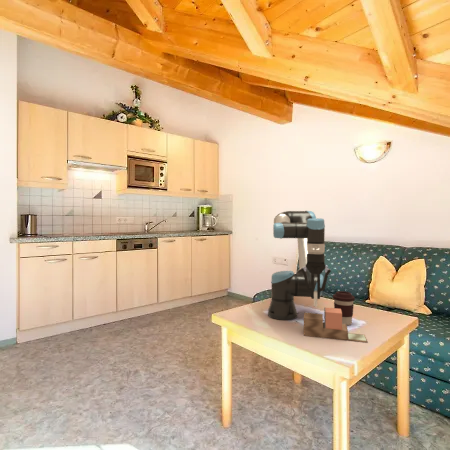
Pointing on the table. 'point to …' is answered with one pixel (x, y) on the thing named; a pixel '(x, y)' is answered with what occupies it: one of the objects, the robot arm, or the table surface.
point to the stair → (317, 329)
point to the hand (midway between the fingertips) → (315, 305)
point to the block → (333, 318)
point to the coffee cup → (344, 305)
